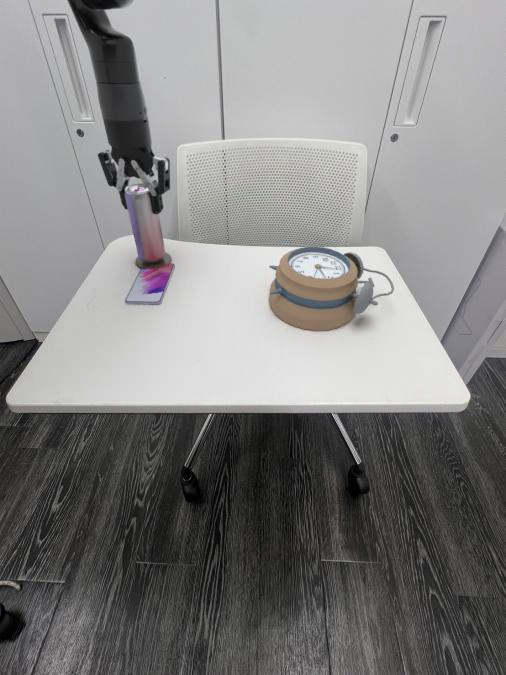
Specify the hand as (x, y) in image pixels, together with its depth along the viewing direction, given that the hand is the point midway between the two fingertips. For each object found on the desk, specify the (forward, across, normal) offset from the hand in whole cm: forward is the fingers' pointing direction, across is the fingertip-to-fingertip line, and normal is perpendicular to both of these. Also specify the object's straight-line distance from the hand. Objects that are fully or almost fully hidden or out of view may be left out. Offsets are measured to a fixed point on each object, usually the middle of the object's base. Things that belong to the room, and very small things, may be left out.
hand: (143, 210), depth 70 cm
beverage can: (+11, 0, 0) cm, 11 cm away
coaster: (+12, 0, 0) cm, 12 cm away
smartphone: (+12, +4, -8) cm, 15 cm away
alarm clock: (+12, +40, -3) cm, 42 cm away
